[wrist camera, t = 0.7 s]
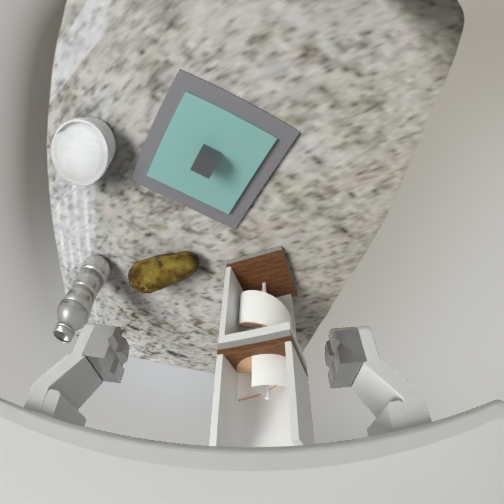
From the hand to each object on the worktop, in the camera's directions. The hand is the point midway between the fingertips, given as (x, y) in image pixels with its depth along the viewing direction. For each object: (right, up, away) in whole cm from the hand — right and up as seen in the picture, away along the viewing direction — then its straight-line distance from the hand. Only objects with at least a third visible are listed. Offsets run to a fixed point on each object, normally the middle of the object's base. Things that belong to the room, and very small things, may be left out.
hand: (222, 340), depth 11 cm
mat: (-5, +18, +34) cm, 39 cm away
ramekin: (-25, +22, +32) cm, 46 cm away
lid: (-5, +18, +33) cm, 38 cm away
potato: (-15, +2, +47) cm, 49 cm away
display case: (+3, -1, +49) cm, 49 cm away
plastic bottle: (-31, +1, +48) cm, 57 cm away
